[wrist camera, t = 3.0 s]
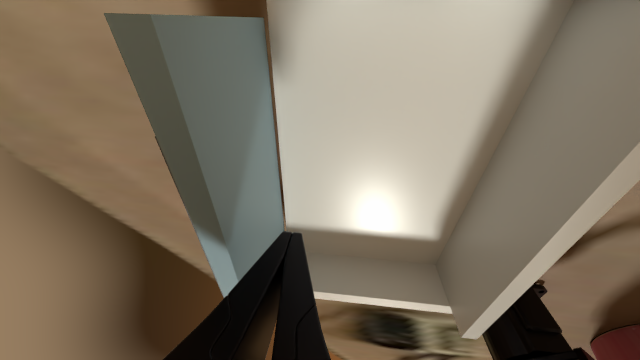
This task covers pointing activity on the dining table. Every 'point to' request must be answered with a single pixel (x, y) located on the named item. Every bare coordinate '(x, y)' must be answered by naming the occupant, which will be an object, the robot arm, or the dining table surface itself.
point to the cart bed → (451, 142)
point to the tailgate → (211, 127)
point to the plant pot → (618, 344)
